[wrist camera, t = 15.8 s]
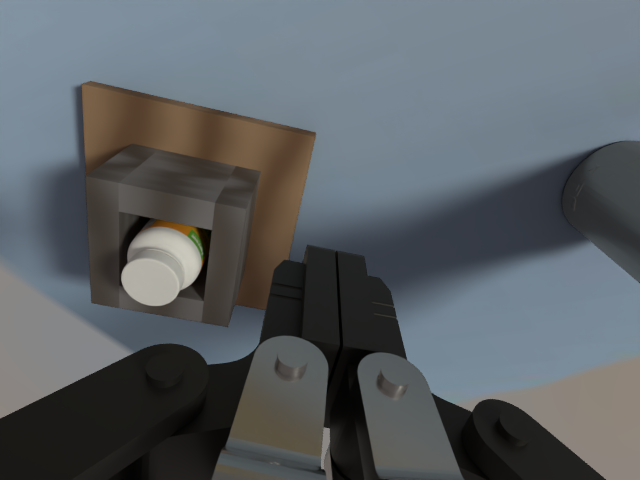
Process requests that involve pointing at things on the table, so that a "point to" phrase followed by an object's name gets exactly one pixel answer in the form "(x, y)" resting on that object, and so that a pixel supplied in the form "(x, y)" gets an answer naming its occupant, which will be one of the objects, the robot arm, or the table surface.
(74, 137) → the table surface
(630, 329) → the table surface
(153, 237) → the supplement bottle
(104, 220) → the collar block
